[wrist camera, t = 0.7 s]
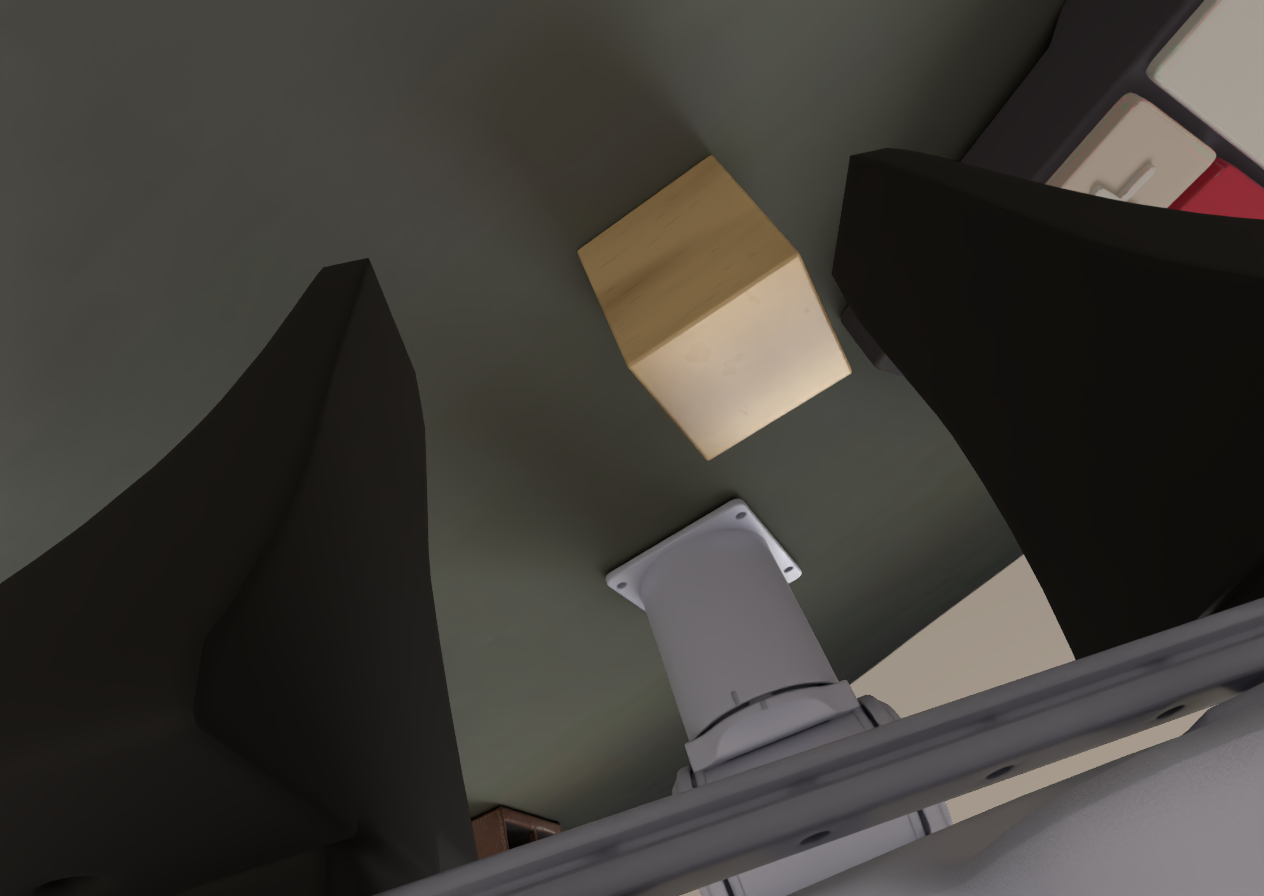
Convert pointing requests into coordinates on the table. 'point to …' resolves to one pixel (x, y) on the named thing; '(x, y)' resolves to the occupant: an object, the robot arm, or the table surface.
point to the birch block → (713, 309)
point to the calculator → (1136, 112)
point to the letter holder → (509, 830)
